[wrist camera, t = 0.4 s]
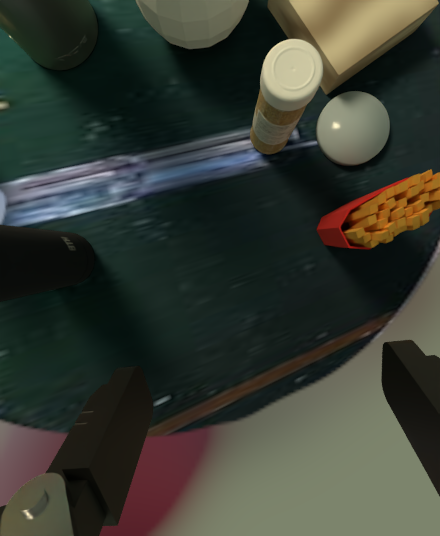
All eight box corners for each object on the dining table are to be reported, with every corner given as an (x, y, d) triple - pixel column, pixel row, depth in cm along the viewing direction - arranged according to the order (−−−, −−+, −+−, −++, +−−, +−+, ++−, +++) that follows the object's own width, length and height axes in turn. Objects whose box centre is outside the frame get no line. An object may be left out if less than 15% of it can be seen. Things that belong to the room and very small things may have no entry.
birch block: (267, 6, 35) (272, -25, 31) (355, -59, 34) (372, -100, 30) (326, 95, 36) (338, 75, 32) (414, 31, 35) (438, 3, 31)
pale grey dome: (302, 122, 36) (304, 119, 35) (360, 81, 35) (364, 76, 34) (340, 179, 36) (343, 177, 35) (398, 139, 36) (403, 136, 35)
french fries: (321, 256, 37) (373, 260, 24) (304, 224, 36) (347, 210, 23) (391, 219, 36) (482, 202, 23) (374, 187, 36) (457, 151, 23)
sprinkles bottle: (267, 107, 36) (291, 22, 22) (296, 134, 36) (338, 64, 22) (241, 138, 36) (249, 71, 23) (270, 164, 36) (296, 113, 23)
